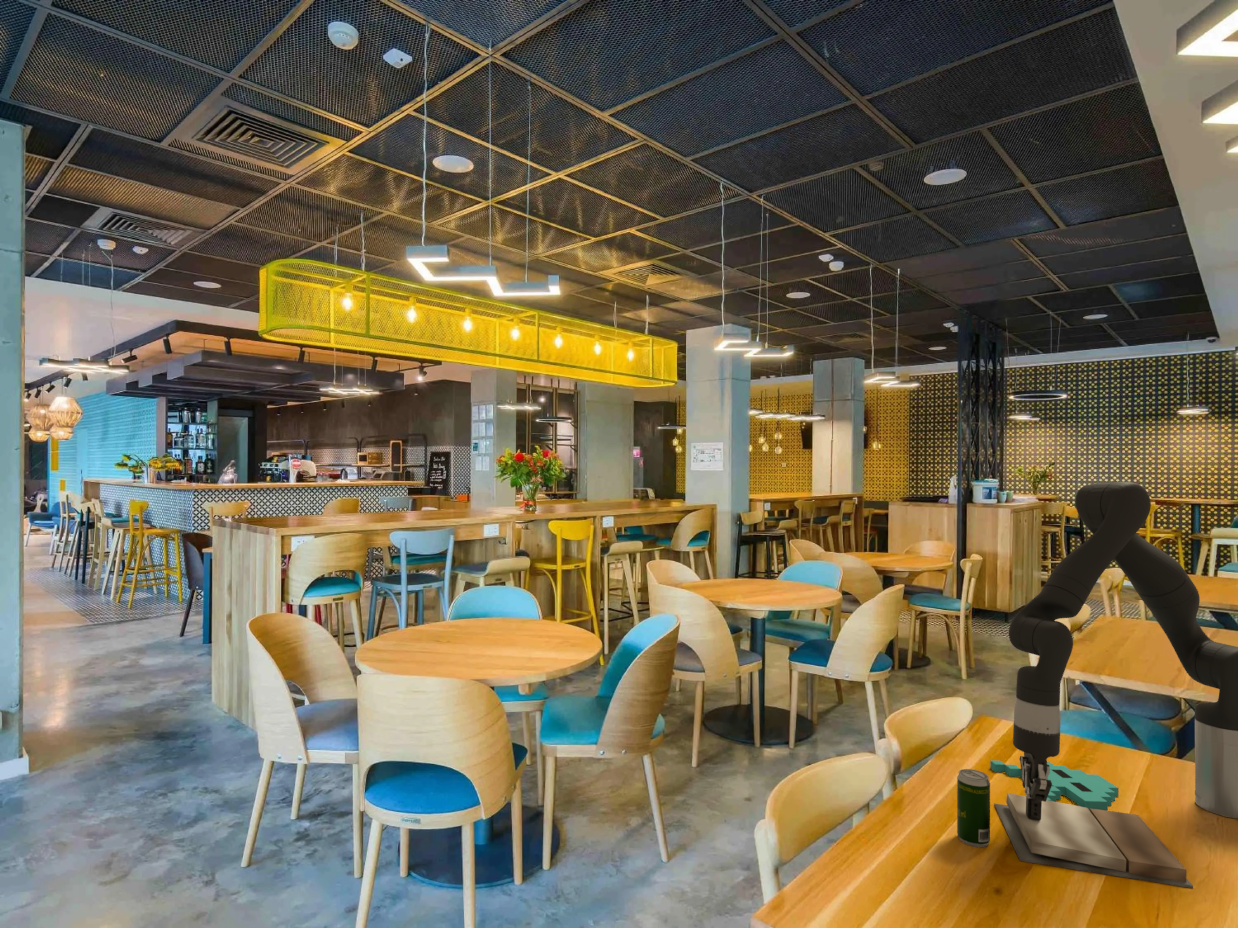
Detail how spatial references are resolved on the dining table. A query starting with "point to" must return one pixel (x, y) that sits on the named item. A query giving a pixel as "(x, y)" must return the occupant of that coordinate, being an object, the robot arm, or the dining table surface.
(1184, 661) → the robot arm
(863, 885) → the dining table surface
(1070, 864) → the floor base
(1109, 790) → the alien figure
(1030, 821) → the beige flat slab
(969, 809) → the beer can
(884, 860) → the dining table surface
